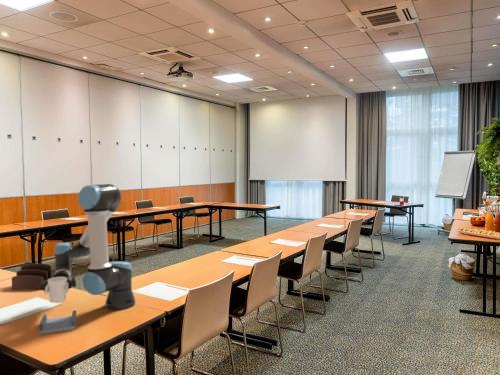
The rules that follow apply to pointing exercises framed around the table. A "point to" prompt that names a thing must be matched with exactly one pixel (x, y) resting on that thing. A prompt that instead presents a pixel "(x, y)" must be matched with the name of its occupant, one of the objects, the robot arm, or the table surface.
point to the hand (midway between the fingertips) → (56, 290)
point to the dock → (57, 324)
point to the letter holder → (31, 276)
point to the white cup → (57, 289)
